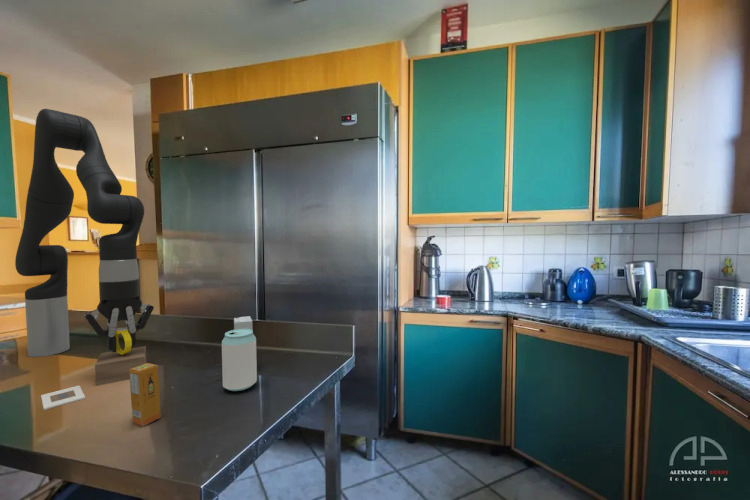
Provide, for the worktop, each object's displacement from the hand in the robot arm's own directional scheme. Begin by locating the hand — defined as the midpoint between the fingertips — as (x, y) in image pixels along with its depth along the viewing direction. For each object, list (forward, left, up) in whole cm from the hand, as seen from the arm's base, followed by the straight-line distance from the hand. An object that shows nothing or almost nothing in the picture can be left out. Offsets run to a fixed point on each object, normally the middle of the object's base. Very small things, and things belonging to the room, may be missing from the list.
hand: (121, 349), depth 79 cm
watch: (0, 0, -1) cm, 1 cm away
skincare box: (+17, +22, -6) cm, 29 cm away
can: (+27, +16, -6) cm, 32 cm away
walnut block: (0, 0, -6) cm, 6 cm away
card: (+5, -11, -6) cm, 14 cm away
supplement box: (+28, -2, -6) cm, 29 cm away
